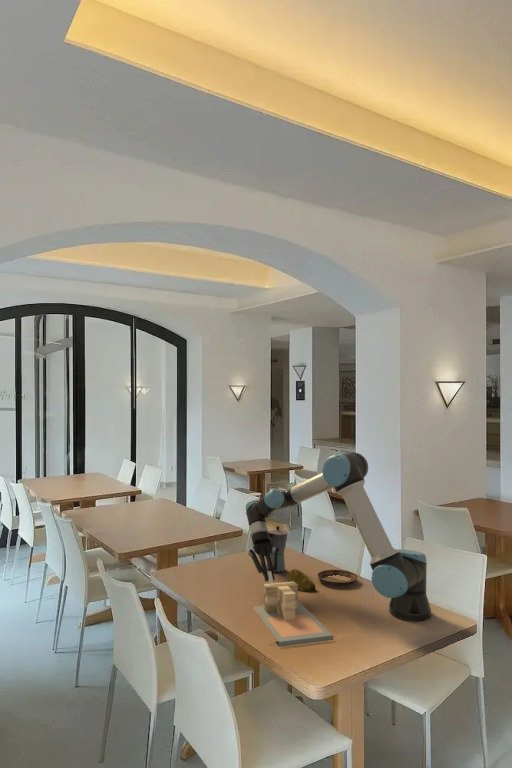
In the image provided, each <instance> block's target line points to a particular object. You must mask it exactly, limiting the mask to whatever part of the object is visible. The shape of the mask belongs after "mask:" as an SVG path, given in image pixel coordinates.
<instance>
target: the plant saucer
mask: <svg viewBox="0 0 512 768" xmlns="http://www.w3.org/2000/svg"><path fill="white" fill-rule="evenodd" d="M333 575H335V576H336V575H340V576H345V577H348V578H351V579H350V580H349V581H348V580H347V581H345V580H339V579H336V578H333V577H328V576H333ZM316 576H317V578H318V580H319V581H320V582H321V583H322V584H324V585H325V586H329V587H333V588H347V587H351V586H353V585H354V584H355V583H356V582H357V580H358V578H359V576H358V574H357V573H354V572H352V571H349V570H343V569H326V570H321V571H319V572H318V573H317V574H316Z"/></svg>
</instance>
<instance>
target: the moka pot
mask: <svg viewBox="0 0 512 768" xmlns="http://www.w3.org/2000/svg"><path fill="white" fill-rule="evenodd" d="M275 528H276V529H271V530H268V533H269V536H270V540H271V544H272V545H273V547H275V548H279V550H278V553H277V570H276V572H275V573H282V572H285V571H286V564H285V549H286V545H287V539H288V533H289V532H287V531H286V530H281V529H280V526H276V527H275ZM273 554H274V553H273V551H272V550H271V552H270V557H271V561H272V566H273ZM266 567H267V571H269V570H268V565H267V564H266Z"/></svg>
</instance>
